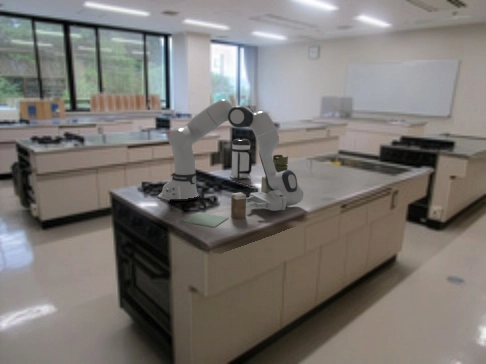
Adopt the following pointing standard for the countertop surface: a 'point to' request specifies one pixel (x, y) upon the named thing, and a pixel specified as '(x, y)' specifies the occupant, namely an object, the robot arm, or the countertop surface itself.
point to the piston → (280, 162)
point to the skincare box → (264, 186)
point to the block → (238, 205)
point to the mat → (206, 219)
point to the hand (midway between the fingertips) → (251, 202)
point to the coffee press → (241, 158)
